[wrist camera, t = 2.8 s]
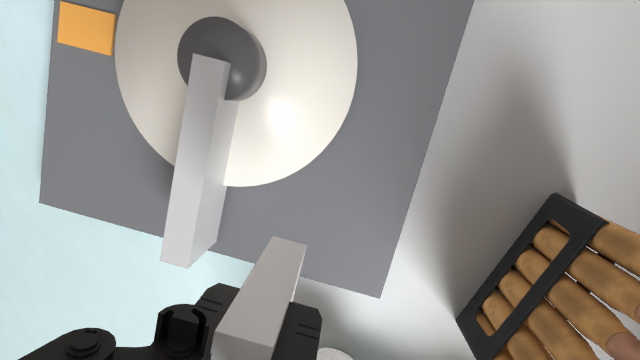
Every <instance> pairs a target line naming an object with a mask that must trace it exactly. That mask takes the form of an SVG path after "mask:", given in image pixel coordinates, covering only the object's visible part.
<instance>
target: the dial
mask: <svg viewBox="0 0 640 360" xmlns="http://www.w3.org/2000/svg"><path fill="white" fill-rule="evenodd" d="M357 64H358V61H357V44H356V38H355V33H354V28H353V24H352V21H351V18H350V15H349V11H348V8H347V6H346V4H345V2H344V0H124V3H123V6H122V9H121V12H120V15H119V19H118V24H117V30H116V35H115V67H116V73H117V79H118V84H119V88H120V91H121V94H122V98H123V101H124V103H125V105H126V108H127V110H128V112H129V115H130V117H131V118H132V120H133V122H134V123H135V125H136V127H137V129H138V130H139V131H140V133H141V134H142V135H143V137H144V138H145V139H146V141H147V142H148V143H149V144H150V145H151V146H152V147H153V148H154V149H155V151H156V152H157V153H158V154H160V155H161V156H162V157H163V158H164V159H166V160H167V161H168V162H169V163H171V164H172V165H174V166H175V169H174V175H173V182H172V188H171V194H170V200H169V206H168V213H167V219H166V225H165V231H164V238H163V244H162V250H161V256H160V261H162V262H166V263H169V264H173V265H176V266H180V267H183V268H187V269H188V268H189V267H190V266H191V265H192V264H193V263H194V262H195V261H196V260H197V259H199V258H200V257H201V256H202V255H203V254H204V253H205V252H206V251H207V250H208V249H209V248H210V247H211V246H212V245H213V244H214V243H215V242H216V241H217V235H218V230H219V225H220V220H221V215H222V210H223V205H224V200H225V195H226V190H227V186H235V187H245V186H257V185H262V184H267V183H271V182H274V181H277V180H280V179H283V178H285V177H287V176H289V175H291V174H293V173H295V172H297V171H298V170H300V169H301V168H303V167H304V166H306V165H307V164H309V163H310V162H311V161H312V160H313V159H314V158H316V157H317V156H318V155H319V154H320V153H321V152H322V151H323V150H324V149H325V148H326V146H327V145H328V144H329V143H330V142H331V140H332V139H333V138H334V136H335V135H336V133H337V132H338V130H339V129H340V127H341V126H342V123H343V121H344V119H345V117H346V115H347V113H348V111H349V108H350V105H351V102H352V99H353V95H354V90H355V85H356V79H357Z"/></svg>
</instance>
